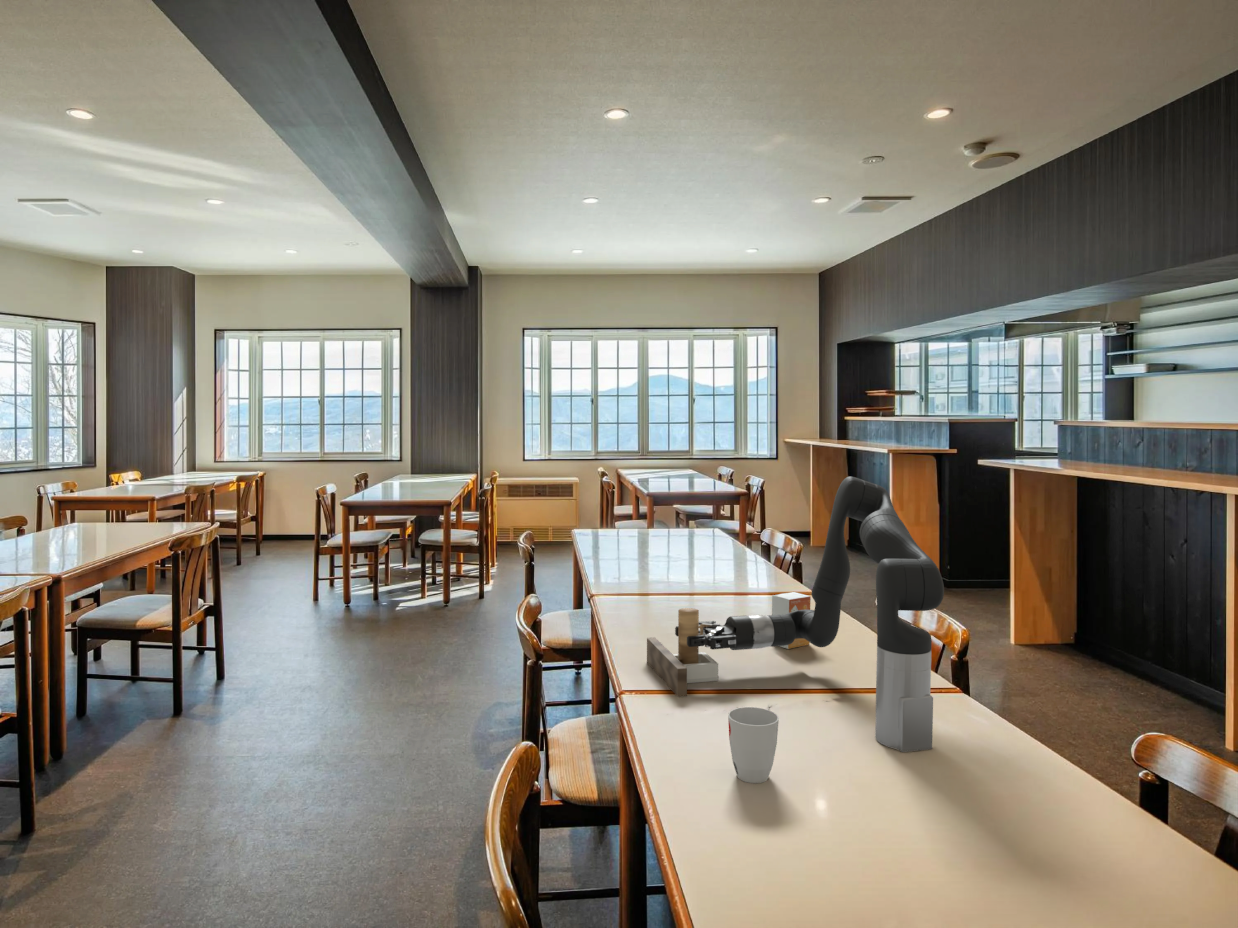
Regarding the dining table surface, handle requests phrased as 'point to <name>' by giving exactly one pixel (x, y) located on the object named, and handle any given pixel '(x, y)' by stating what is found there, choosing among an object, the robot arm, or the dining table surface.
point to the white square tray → (702, 669)
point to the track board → (667, 666)
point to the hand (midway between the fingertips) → (681, 636)
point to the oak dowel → (687, 627)
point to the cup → (753, 742)
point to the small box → (791, 610)
